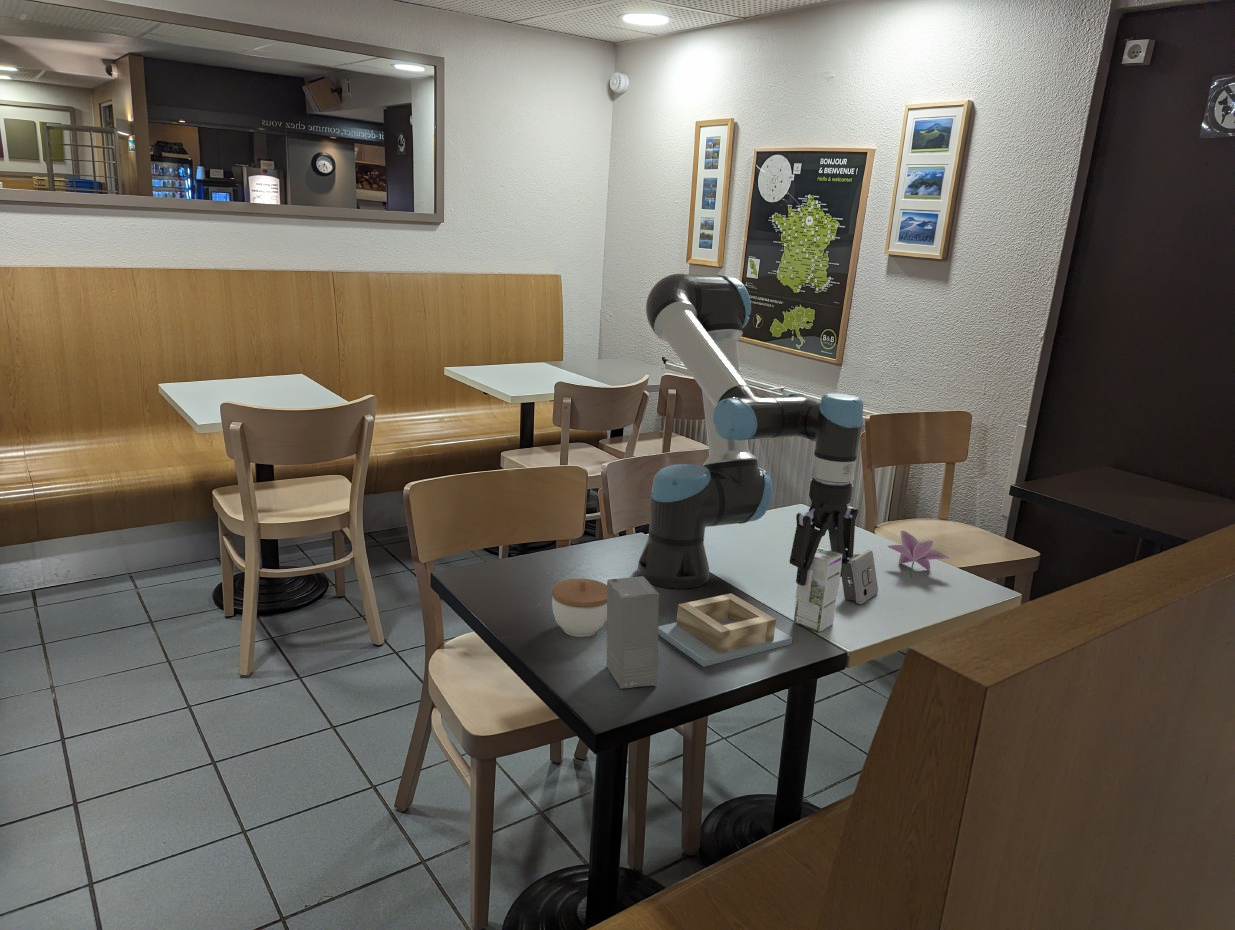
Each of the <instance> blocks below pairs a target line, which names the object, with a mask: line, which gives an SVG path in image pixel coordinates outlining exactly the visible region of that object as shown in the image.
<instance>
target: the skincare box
mask: <svg viewBox="0 0 1235 930" xmlns="http://www.w3.org/2000/svg"><path fill="white" fill-rule="evenodd" d="M606 581H607V582H606V585H607V620H606V667H607V670H608V671H609V672H610V674H611V676H612V678H613V679H614V680H615V682H616V683H617V685H618V686H619V688H620V689H632V688H639V687H652V686H657V685H658V680H659V679H658V674H659V672H658V667H659V663H658V662H659V635H658V626H659V616H660V615H659V611H660V609H659V608H660V593H659V592H658V591H657V590H656V589H655V587H654V586H653V584H651V583H649V582H648V581H647V580H646V579H645V577H644V576H640V577H639V576H634V577H633V576H632V577H622V578H621V577H619V578H611V579H607V580H606Z"/></svg>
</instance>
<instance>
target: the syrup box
mask: <svg viewBox="0 0 1235 930" xmlns="http://www.w3.org/2000/svg"><path fill="white" fill-rule="evenodd" d="M804 562H805V560H804ZM841 562H842V554H840V553H837V552H834V551H831V549H827V548H824V547H820V546H818V548H817V551H816V553H815V556H814V559H813V561H812V564H811V566H810V569H812V570H813V575H812V582H811V590H810V598H809V603H804V602H802V601H801V600H799V599H797V598H796V597H795V599H796V600H795V608H794V615H793V623H794V624H797V625H799V626H803V627H805V628H808V629H810V630H813V631H816V632H818V633H820V632H822V631H824V630H826V629H827V628H829V627H830V626H833V624H834V621H835V619H834V618H835V610H836V603H837V597H838V596H837V590H838V591H839V589H838V583H839V584H840V582H839V576H840V570H841Z"/></svg>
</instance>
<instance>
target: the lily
mask: <svg viewBox="0 0 1235 930" xmlns="http://www.w3.org/2000/svg"><path fill="white" fill-rule="evenodd" d="M900 539H901V544H890V545H887V548H889V549H891V550H894V551H895V552H897V553H899V554H900V555H899V557H898V563H899V564H909V563H912V564H911V568H910V575H909V578H911V579H912V574H913V569H914V564H915V562H916V563H917V564H918V565H920V566H921V567H923V568H924V569H925V570H926V571H929V572H930V571H931V562H930V561H932V560H948V559H950V557H949V556H948V555H946V554H945V553H943V552H941V551H939V550H938V549H934V548H933V546H934V545H933V544H934V541H933V540H923V541H919V539H917V538H916V537H915V536H914V535H912V534H911V533H909V532H908V531H905V530H900Z"/></svg>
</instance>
